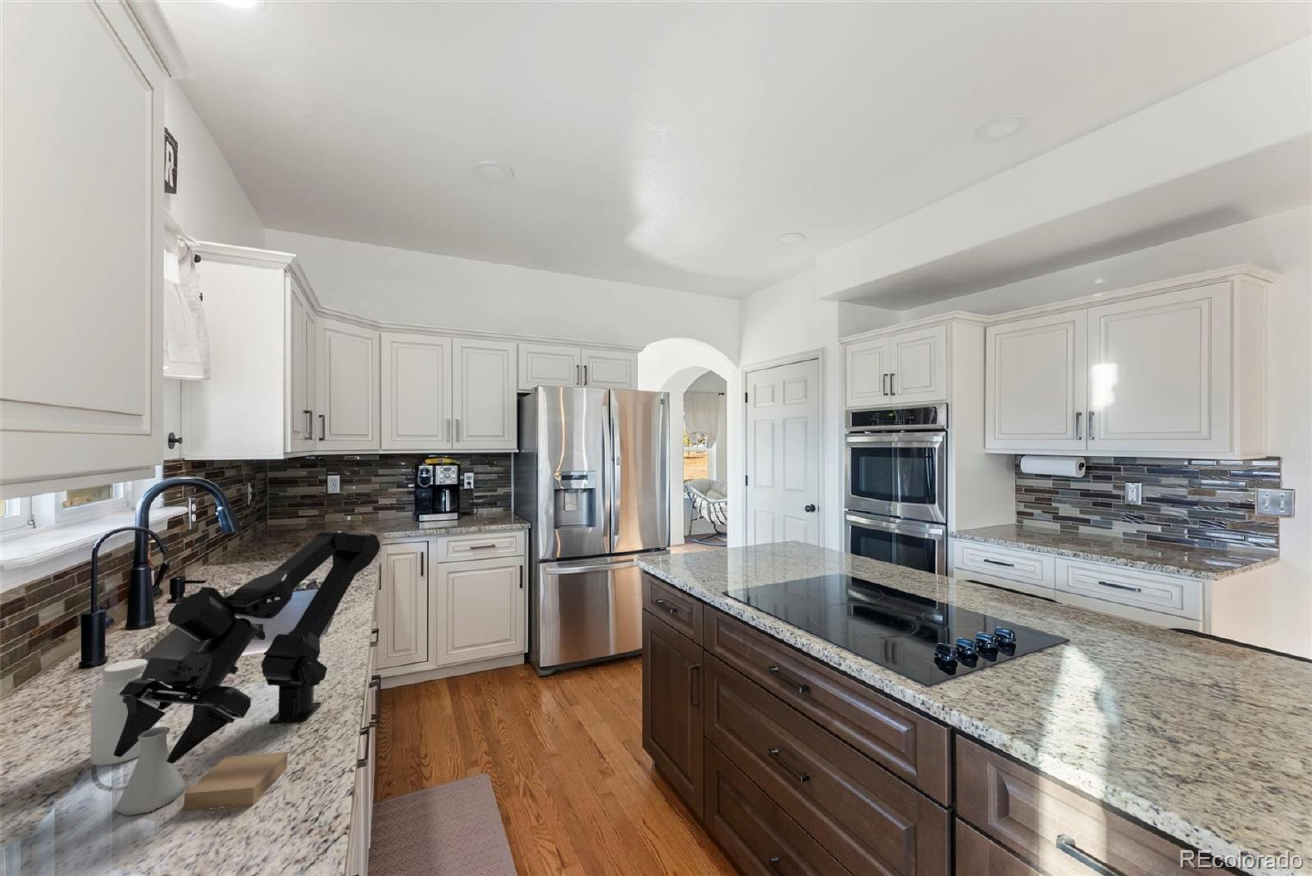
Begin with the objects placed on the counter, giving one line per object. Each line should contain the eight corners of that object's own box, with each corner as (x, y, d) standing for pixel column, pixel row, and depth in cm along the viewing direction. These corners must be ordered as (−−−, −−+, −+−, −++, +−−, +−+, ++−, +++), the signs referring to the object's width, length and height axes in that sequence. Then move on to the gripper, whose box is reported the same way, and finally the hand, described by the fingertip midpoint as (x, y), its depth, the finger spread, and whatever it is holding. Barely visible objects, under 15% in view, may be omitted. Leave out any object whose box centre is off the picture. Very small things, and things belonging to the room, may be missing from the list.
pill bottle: (90, 753, 89) (93, 664, 89) (156, 735, 94) (158, 651, 95) (87, 774, 83) (90, 679, 83) (156, 753, 89) (159, 664, 89)
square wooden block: (225, 775, 83) (226, 756, 84) (286, 770, 85) (287, 752, 85) (183, 814, 75) (184, 793, 75) (253, 808, 76) (253, 787, 76)
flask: (151, 818, 73) (153, 746, 74) (101, 817, 73) (103, 745, 74) (197, 785, 81) (199, 719, 81) (152, 784, 81) (154, 719, 81)
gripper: (135, 627, 83) (41, 735, 72) (236, 635, 80) (154, 748, 69) (185, 658, 91) (107, 759, 79) (279, 666, 88) (212, 772, 76)
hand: (142, 759), depth 76 cm, fingers open, 9 cm apart
